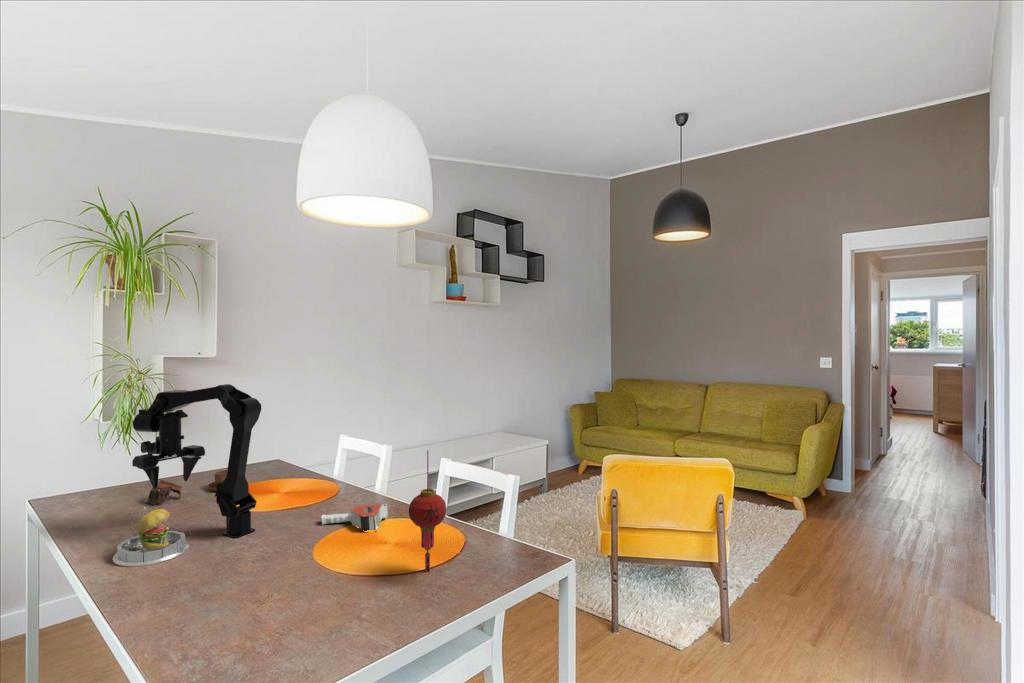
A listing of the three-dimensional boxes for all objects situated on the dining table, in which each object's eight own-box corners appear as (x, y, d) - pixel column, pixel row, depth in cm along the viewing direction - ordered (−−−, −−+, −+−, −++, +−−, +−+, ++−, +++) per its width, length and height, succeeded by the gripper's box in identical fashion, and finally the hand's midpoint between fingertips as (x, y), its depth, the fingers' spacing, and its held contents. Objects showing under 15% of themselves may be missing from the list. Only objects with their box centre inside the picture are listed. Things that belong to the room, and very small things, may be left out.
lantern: (405, 565, 138) (405, 447, 138) (441, 560, 142) (442, 445, 141) (412, 582, 129) (412, 455, 129) (450, 575, 133) (451, 452, 132)
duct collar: (203, 547, 150) (203, 535, 150) (138, 571, 134) (138, 559, 134) (164, 536, 157) (164, 526, 157) (98, 559, 142) (98, 547, 142)
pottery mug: (144, 502, 190) (156, 479, 194) (172, 510, 194) (184, 487, 198) (144, 502, 181) (157, 477, 184) (174, 510, 184) (187, 486, 188)
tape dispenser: (316, 529, 169) (351, 541, 155) (315, 511, 169) (350, 523, 155) (366, 512, 182) (402, 522, 168) (365, 496, 182) (401, 505, 168)
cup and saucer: (211, 485, 209) (211, 469, 209) (245, 483, 213) (245, 467, 213) (204, 494, 198) (204, 477, 198) (241, 492, 202) (240, 475, 201)
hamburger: (170, 551, 145) (170, 506, 145) (137, 558, 141) (137, 511, 141) (169, 542, 151) (168, 499, 151) (137, 548, 147) (137, 503, 147)
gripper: (183, 425, 176) (183, 474, 176) (120, 435, 159) (121, 489, 159) (206, 428, 171) (206, 478, 171) (144, 439, 154) (144, 494, 154)
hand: (170, 484), depth 164 cm, fingers open, 9 cm apart
